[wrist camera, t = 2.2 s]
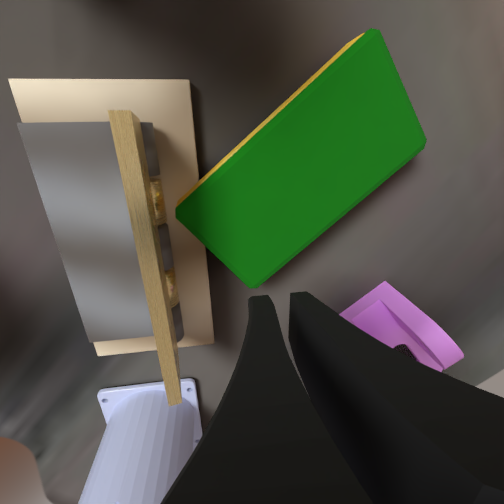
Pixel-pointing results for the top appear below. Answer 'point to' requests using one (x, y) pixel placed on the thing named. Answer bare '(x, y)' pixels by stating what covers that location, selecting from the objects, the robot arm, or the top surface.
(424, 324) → the bracket
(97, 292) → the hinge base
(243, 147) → the dish sponge
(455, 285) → the top surface
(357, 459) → the robot arm
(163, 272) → the strip
